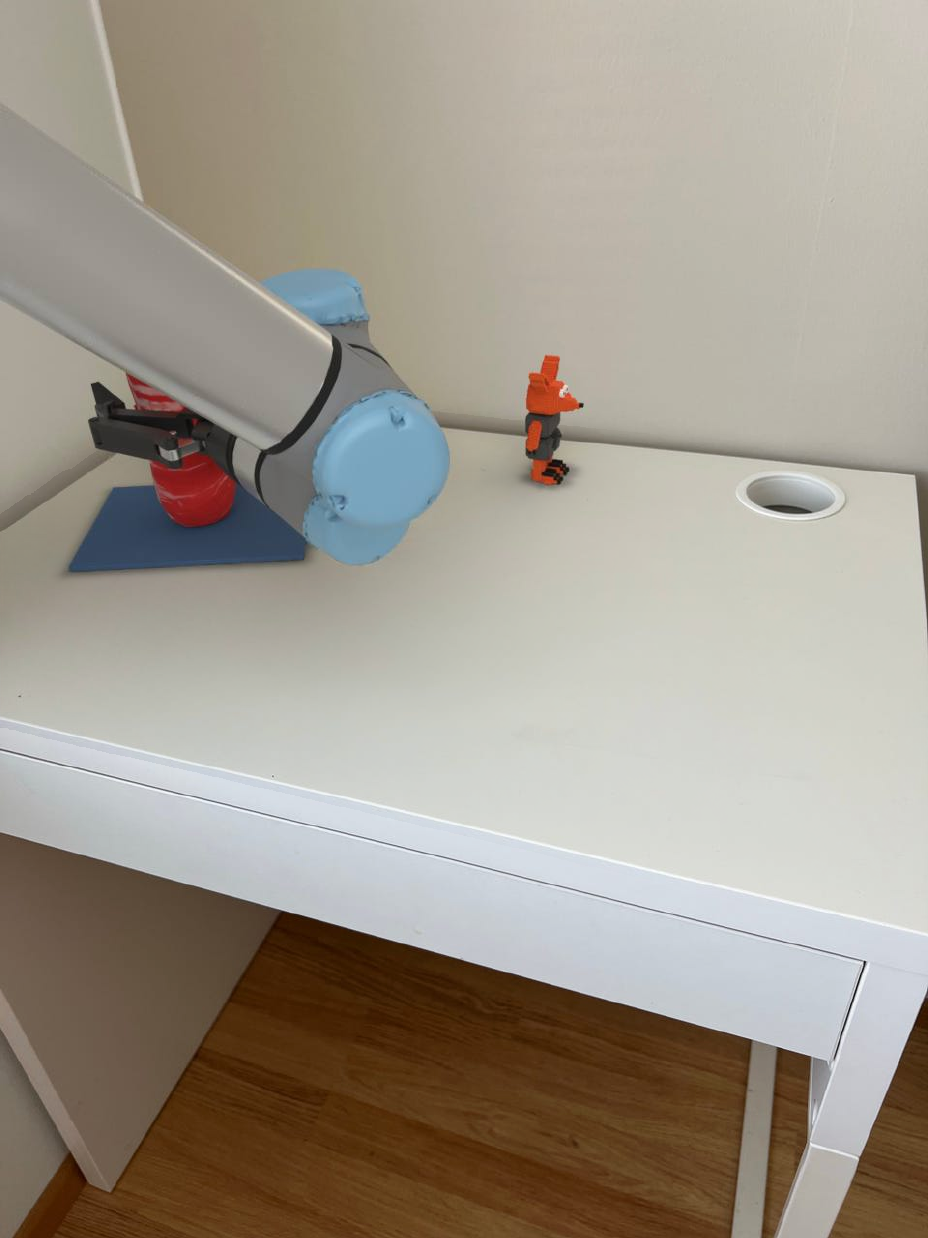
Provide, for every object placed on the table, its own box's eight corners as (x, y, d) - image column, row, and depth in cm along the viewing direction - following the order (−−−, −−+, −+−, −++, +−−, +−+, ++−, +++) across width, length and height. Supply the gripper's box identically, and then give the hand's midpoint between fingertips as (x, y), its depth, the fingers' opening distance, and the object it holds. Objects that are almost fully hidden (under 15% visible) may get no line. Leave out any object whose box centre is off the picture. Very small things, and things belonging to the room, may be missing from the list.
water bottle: (287, 501, 102) (243, 249, 88) (252, 541, 96) (199, 276, 81) (182, 491, 105) (123, 245, 91) (141, 529, 99) (72, 271, 84)
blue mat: (69, 572, 94) (68, 567, 94) (114, 491, 107) (113, 487, 107) (303, 559, 94) (302, 555, 93) (320, 480, 107) (319, 476, 106)
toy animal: (570, 497, 101) (571, 383, 94) (519, 489, 103) (516, 378, 96) (592, 462, 107) (595, 353, 100) (543, 456, 109) (542, 349, 102)
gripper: (134, 544, 76) (47, 452, 91) (406, 448, 88) (291, 380, 102) (109, 455, 72) (22, 373, 86) (399, 366, 84) (280, 306, 98)
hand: (168, 376), depth 94 cm, fingers open, 13 cm apart
